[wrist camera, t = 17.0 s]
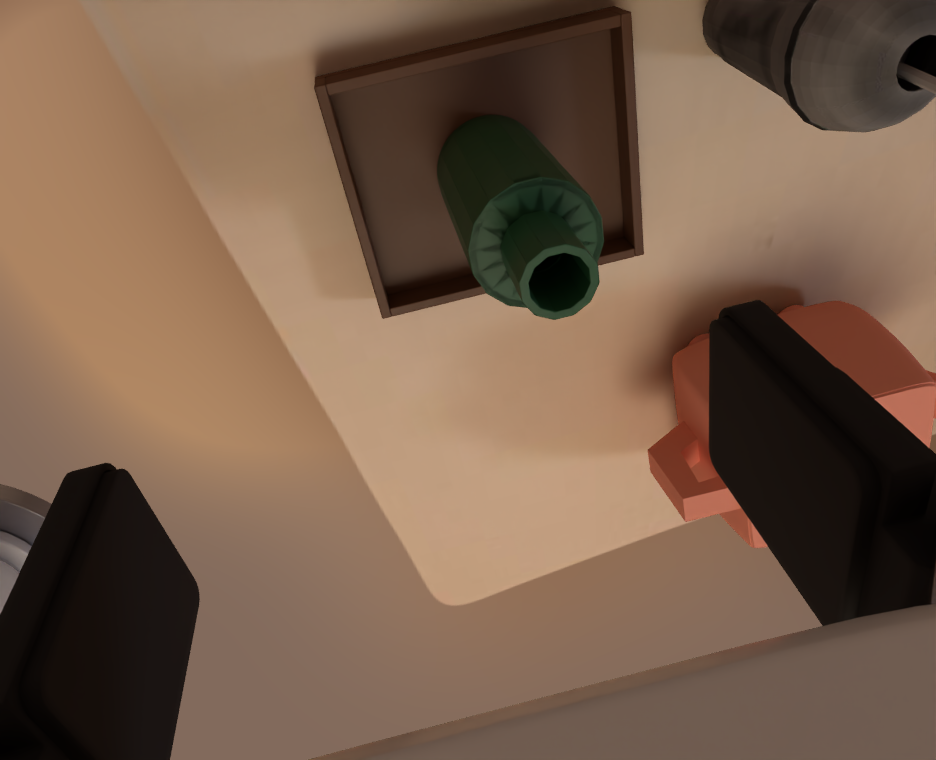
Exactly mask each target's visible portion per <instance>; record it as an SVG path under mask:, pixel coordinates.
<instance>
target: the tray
mask: <svg viewBox="0 0 936 760" xmlns="http://www.w3.org/2000/svg"><path fill="white" fill-rule="evenodd" d="M314 89H315V92H316V95H317V99H318V102H319V106H320V109H321V112H322V116H323V119H324V123H325V126H326V129H327V133H328V136H329V139H330V143H331V146H332V150H333V153H334V156H335V160H336V163H337V166H338V170H339V173H340V177H341V180H342V183H343V187H344V190H345V194H346V197H347V200H348V204H349V207H350V210H351V214H352V217H353V221H354V224H355V227H356V231H357V234H358V237H359V241H360V244H361V248H362V251H363V254H364V258H365V261H366V265H367V268H368V271H369V275H370V278H371V281H372V285H373V288H374V292H375V295H376V298H377V302H378V305H379V308H380V312H381V315H382V318H383V319H384V318H388V317H391V316H396V315H400V314H404V313H408V312H412V311H416V310H420V309H424V308H428V307H432V306H437V305H441V304H445V303H449V302H453V301H457V300H461V299H465V298H469V297H473V296H477V295H481V294H485V293H486V292H485V290H484V289H483V288H482V286H481V285H480V284H479V282H478V281H477V280H476V278H475V277H474V276H473V273H472V271H471V268H470V266H469V263H468V261H467V258H466V256H465V253H464V251H463V248H462V246H461V243H460V241H459V238H458V235H457V233H456V230H455V228H454V225H453V223H452V220H451V218H450V215H449V213H448V210H447V208H446V205H445V203H444V200H443V197H442V195H441V191H440V187H439V183H438V178H437V164H438V159H439V155H440V152H441V149H442V147H443V145H444V143H445V142H446V140H447V139H448V137H449V136H450V135H451V134H452V133H453V131H454V130H455V129H457V128H458V127H459V126H460V125H462V124H463V123H465V122H466V121H468V120H471V119H473V118H476V117H479V116H483V115H502V116H506V117H509V118H512V119H514V120H516V121H518V122H519V123H521V124H522V125H523V126H525V127H526V128H527V129H528V130H530V131H531V132H532V133H533V134H534V135H535V136H536V137H537V139H538V140H539V141H540V142H541V143H542V144H543V145H544V146H545V147H546V148H547V150H548V151H549V152H550V153H551V154H552V155H553V156H554V157H555V158H556V159H557V160H558V162H559V163H560V164H561V165H562V166H563V167H564V168H565V169H566V170H567V171H568V173H569V174H570V175H571V176H572V177H573V178H574V179H575V180H576V181H577V182H578V183H579V185H580V186H581V187H582V188H583V189H584V190H585V191H586V192H587V193H588V194H589V196H590V197H591V199H592V200H593V202H594V204H595V206H596V207H597V209H598V211H599V213H600V214H601V217H602V224H603V235H604V244H603V247H602V250H601V253H600V257H599V260H598V263H597V264H598V265H602V264H606V263H611V262H615V261H619V260H623V259H627V258H631V257H634V256H639V255H643V254H644V249H643V229H642V210H641V191H640V172H639V152H638V133H637V114H636V94H635V75H634V56H633V37H632V17H631V12H629V11H626V10H623V9H620V8H618V7H615V6H612V7H608V8H604V9H600V10H595V11H591V12H587V13H583V14H578V15H574V16H570V17H566V18H562V19H557V20H553V21H549V22H545V23H540V24H536V25H532V26H528V27H523V28H519V29H515V30H511V31H507V32H502V33H498V34H494V35H490V36H485V37H481V38H477V39H473V40H469V41H464V42H460V43H456V44H452V45H447V46H443V47H439V48H435V49H430V50H426V51H422V52H418V53H414V54H409V55H405V56H401V57H397V58H392V59H388V60H384V61H380V62H376V63H371V64H367V65H363V66H359V67H354V68H350V69H346V70H342V71H337V72H333V73H329V74H325V75H321V76H316V77H315V86H314Z"/></svg>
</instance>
